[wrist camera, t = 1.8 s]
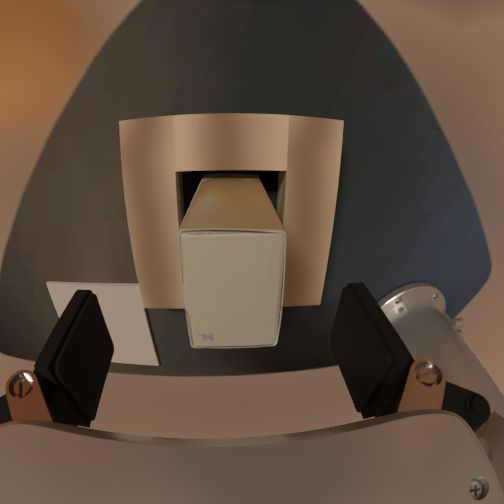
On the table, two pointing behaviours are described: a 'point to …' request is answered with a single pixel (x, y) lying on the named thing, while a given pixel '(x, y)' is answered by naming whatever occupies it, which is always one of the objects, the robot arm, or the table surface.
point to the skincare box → (232, 263)
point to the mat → (116, 317)
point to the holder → (230, 158)
